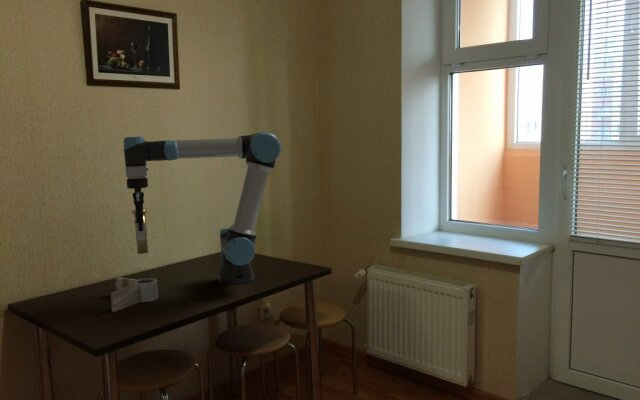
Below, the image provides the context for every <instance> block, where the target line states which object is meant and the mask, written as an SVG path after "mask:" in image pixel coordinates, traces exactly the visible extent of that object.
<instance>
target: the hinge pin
mask: <svg viewBox="0 0 640 400" xmlns="http://www.w3.org/2000/svg"><path fill="white" fill-rule="evenodd" d="M147 211H148V209H146V208H143V219H144V227H145V239H142V240H138V235H137V223H135V221H136V209H132V215H133V216H134V226H135V239H136V254H138V255H143V254H144V255H145V254H148V253H149V244H148V231H147V230H148V229H147V216H146V214H147V213H148V212H147Z"/></svg>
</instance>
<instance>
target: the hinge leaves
mask: <svg viewBox="0 0 640 400" xmlns="http://www.w3.org/2000/svg"><path fill="white" fill-rule="evenodd" d="M137 280H138V279H134V278H127V277H119V276H116V277H114V283H115V291H112V292H110V301H111V302H110V305H111V312H113V313H115V312H119V311H120V310H123V309H125V308H129V307H131V306H134V305H136V304H138V303H141V302H140V299H139V287H138V284H135V285H134V281H137Z"/></svg>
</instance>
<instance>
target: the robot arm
mask: <svg viewBox="0 0 640 400" xmlns="http://www.w3.org/2000/svg"><path fill="white" fill-rule="evenodd" d="M281 148H282V147H281V143H280V140H279V138H278V136H276V135H274V134H273V133H271V132H267V131H262V132H261V131H260V132H256V133H252V134H247V135H239V136H238V137H235V138H212V139H211V138H209V139H208V138H207V139H180V140H176V139H175V140H167V139H166V140H154V141H153V140H151V141H146V140H145V137H144V136H143V135H142V136H127V137H124V139H123V154H124V155H123V156H124V165H125V166H124V168H125V169H124V170H125V177H126V178H127V179H126V188H127V189H129V190H131V189H132V190H133V189H134V192H132V199H133V205H134V206H135V209H134V210H136V221H135V220H134V224H135V223H137V235H138V240H142V239H145V227H144V219H143V209H144V204H145V200H144V197H145V193H144V192H143V191H142V189H146V188H148V187H149V183H148V182H149V179H148V177H147V176H148V172H149V168H148V167H147V162H160V161H161V162H162V161H164V162H165V161H177V160H178V159H179V160H181V159H201V158H202V159H203V158H205V159H206V158H208V159H209V158H225V157H226V158H228V157H229V158H230V157H231V158H232V157H238V158H239V159H241V160H242V159H243V160H244V159H245V164H246V165H247V169H246V170H247V171H246V173H245V178H244V181H243V186H242V190H241V193H240V198H239V202H238V206H237V209H236V214H235V218H234V222H233V224H232V225H231V226H229V227H226V228H225V227H224V228H221V229H220V230H219V239H220V240H219V241H220V242H219V243H220V254H221V255H220V256H221V266H220V270H219V274H218V283H220V284H222V285H242V284H246V283H250V282H251V281H253V280H254V279H255V274H254V271H253V268H252V265H251V261H252V260H253V258H254V257H255V253H256V247H255V245H256V241H257V236H258V233H257V232H256V225H257V220H258V217H259V214H260V209H261V205H262V200H263V196H264V193H265V189H266V185H267V183H268V182H267V180H268V178H269V174H270V172H271V171H273V170H274V168H275V165H276V162H277V159H278V158H279V156H280V154H281V151H282V149H281Z"/></svg>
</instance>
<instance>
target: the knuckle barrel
mask: <svg viewBox="0 0 640 400" xmlns="http://www.w3.org/2000/svg"><path fill="white" fill-rule="evenodd" d="M136 280H137V281H134V285H135V284H138V287H139V299H140V302H139V303H147V302H153V301H156V300H158V299H159V290H158V279H157V278H152V277H149V278H140V279H136Z"/></svg>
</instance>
